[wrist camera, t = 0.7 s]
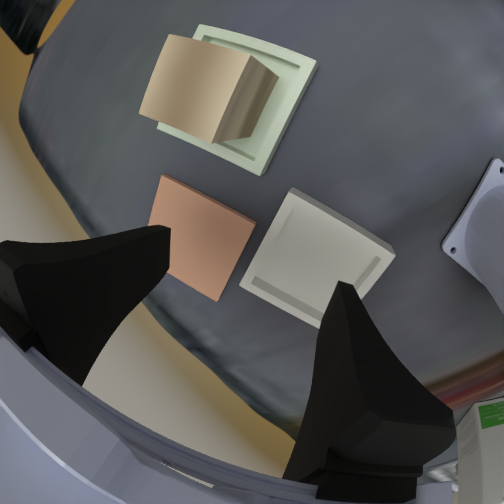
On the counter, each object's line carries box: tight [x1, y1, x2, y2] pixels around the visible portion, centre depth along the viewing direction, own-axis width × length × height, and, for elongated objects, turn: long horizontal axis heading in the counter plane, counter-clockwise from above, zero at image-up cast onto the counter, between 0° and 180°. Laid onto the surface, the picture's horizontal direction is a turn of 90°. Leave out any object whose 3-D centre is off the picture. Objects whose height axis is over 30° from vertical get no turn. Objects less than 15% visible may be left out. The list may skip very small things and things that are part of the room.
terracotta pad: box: [148, 174, 257, 302], centre depth 22 cm, size 8×8×1 cm
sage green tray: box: [157, 24, 318, 176], centre depth 15 cm, size 8×8×2 cm
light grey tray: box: [239, 187, 396, 329], centre depth 19 cm, size 8×8×2 cm
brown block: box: [139, 34, 279, 144], centre depth 13 cm, size 4×4×6 cm
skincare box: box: [456, 397, 504, 504], centre depth 14 cm, size 8×7×16 cm
